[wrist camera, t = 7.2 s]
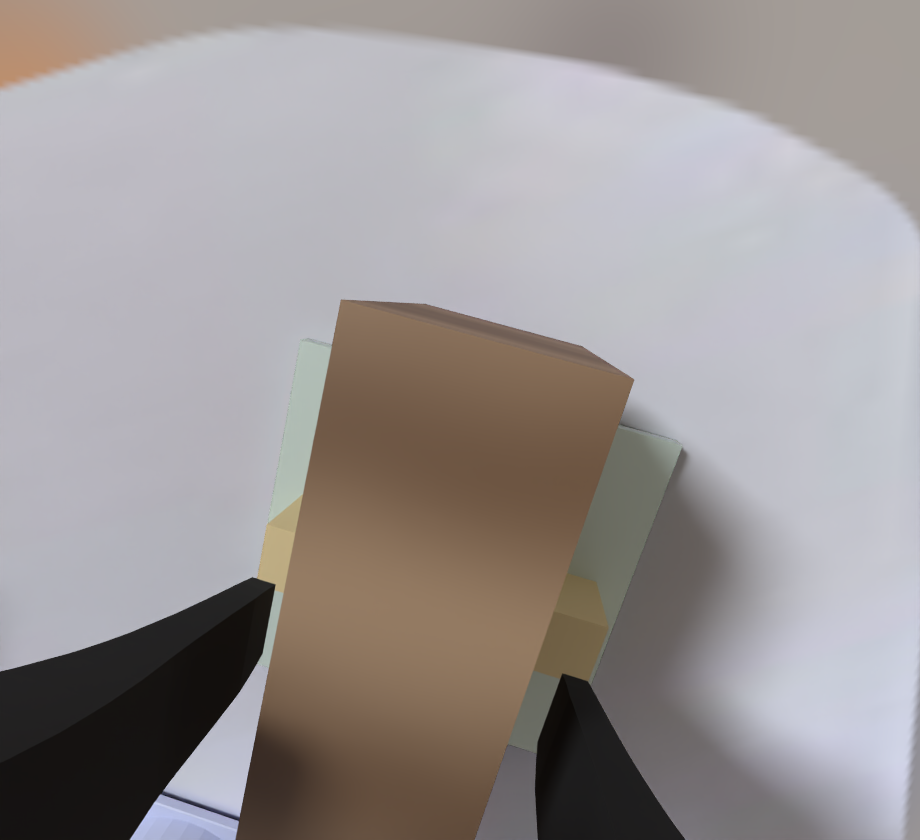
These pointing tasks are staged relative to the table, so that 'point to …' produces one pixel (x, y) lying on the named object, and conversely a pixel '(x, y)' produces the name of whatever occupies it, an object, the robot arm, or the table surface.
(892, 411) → the table surface
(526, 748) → the ridge stand
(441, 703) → the walnut bar
